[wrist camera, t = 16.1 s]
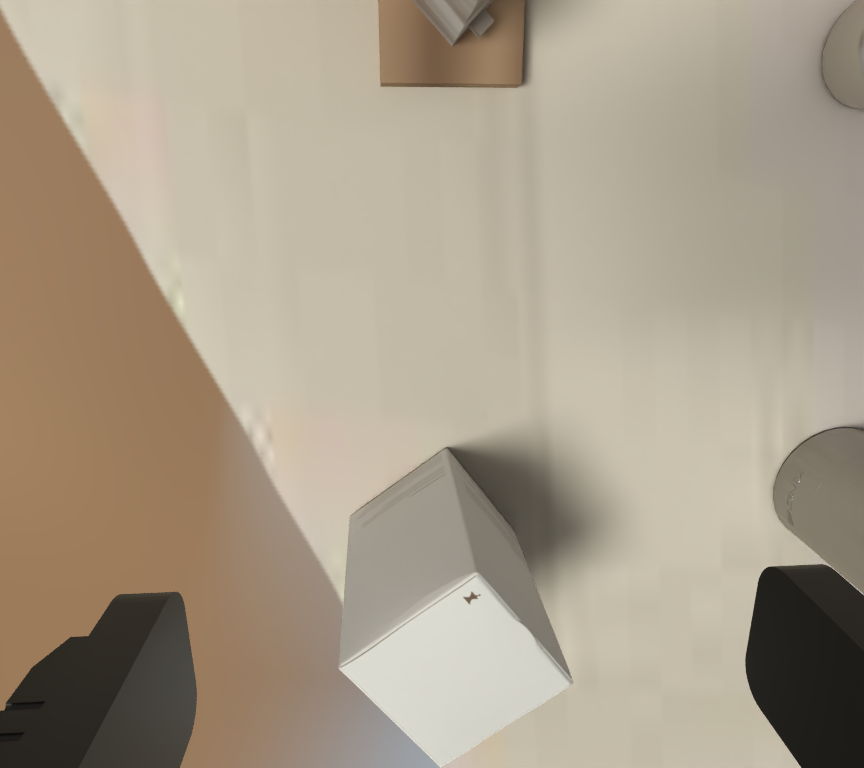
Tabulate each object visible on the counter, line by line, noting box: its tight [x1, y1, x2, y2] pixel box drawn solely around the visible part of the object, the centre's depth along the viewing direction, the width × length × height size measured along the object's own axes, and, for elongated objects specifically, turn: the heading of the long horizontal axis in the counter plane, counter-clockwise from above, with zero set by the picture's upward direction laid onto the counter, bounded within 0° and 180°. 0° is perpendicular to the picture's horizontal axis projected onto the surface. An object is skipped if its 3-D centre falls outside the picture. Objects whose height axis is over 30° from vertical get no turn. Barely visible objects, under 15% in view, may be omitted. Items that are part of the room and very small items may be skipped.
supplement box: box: [339, 449, 573, 768], centre depth 39 cm, size 9×9×15 cm
